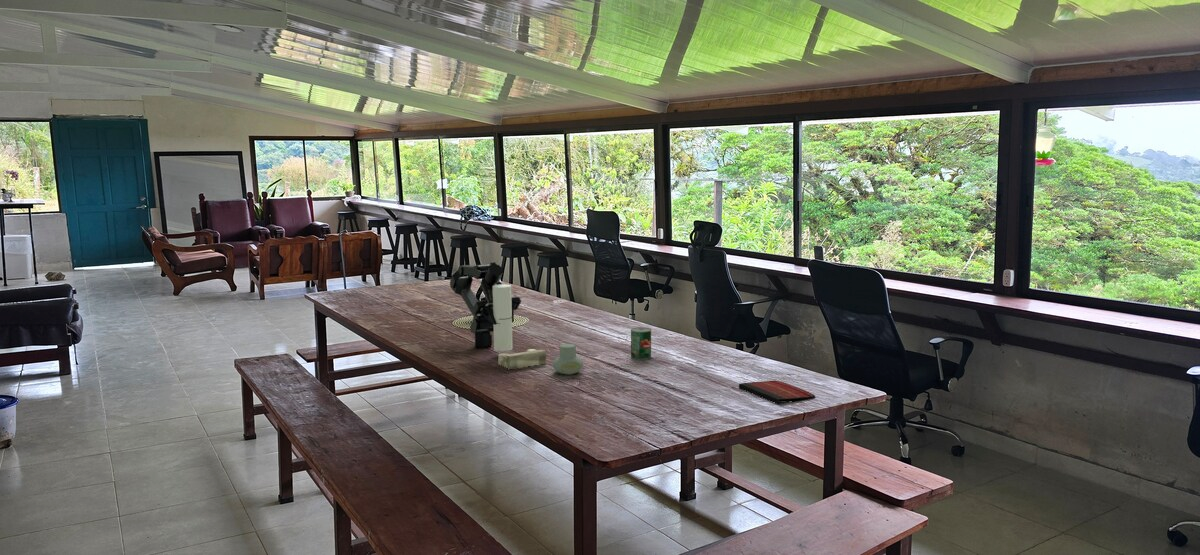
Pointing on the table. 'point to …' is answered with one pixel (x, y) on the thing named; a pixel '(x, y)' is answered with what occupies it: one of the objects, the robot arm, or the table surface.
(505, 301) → the cylindrical container
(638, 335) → the canned tomato
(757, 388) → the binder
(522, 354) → the wooden holder
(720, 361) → the table surface
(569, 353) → the air freshener
